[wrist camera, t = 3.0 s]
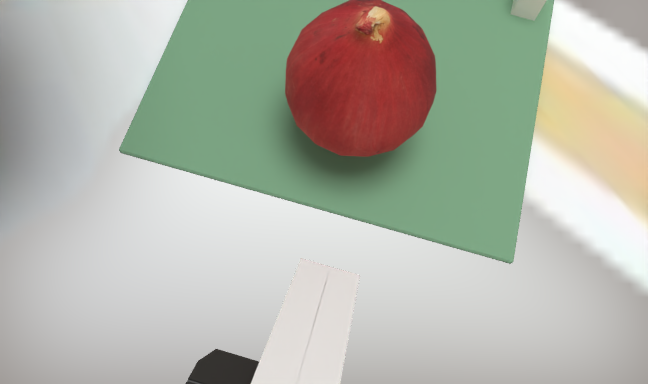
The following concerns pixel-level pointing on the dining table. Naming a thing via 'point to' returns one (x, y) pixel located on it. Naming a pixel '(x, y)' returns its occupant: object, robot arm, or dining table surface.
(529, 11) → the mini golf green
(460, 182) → the felt mat
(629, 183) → the dining table surface
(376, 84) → the onion
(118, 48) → the dining table surface
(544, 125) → the dining table surface
